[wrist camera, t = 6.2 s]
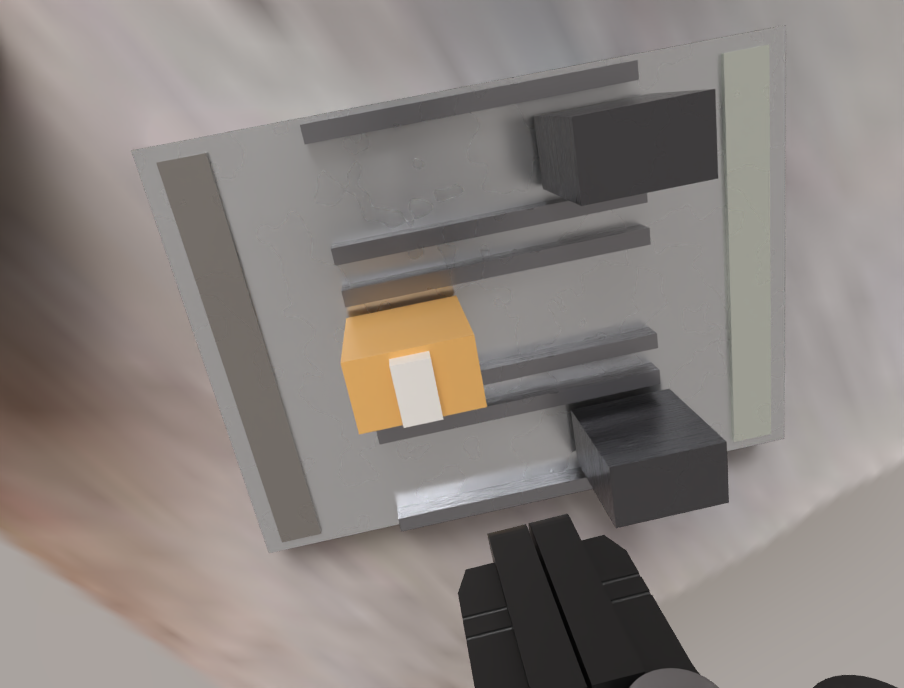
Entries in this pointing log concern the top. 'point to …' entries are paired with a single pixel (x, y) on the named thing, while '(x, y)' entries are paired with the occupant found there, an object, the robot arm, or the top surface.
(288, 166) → the breaker panel
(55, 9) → the top surface
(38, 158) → the top surface
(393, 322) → the toggle
